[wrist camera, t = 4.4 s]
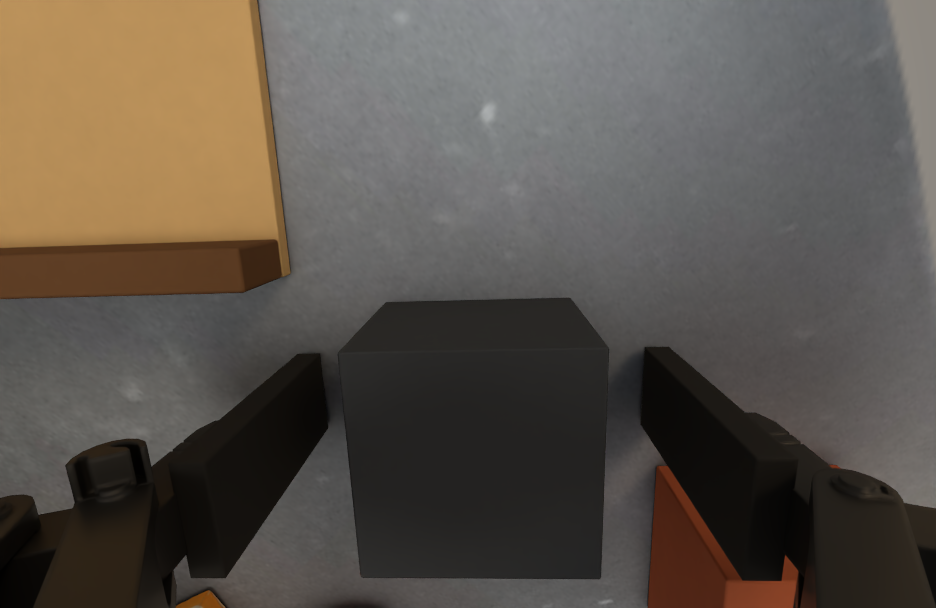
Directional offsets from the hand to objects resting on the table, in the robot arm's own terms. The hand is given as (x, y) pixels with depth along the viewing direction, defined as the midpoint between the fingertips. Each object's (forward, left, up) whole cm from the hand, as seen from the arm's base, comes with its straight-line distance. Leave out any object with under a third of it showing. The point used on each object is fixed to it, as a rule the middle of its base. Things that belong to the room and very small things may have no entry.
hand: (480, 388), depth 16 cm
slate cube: (0, 0, 0) cm, 0 cm away
